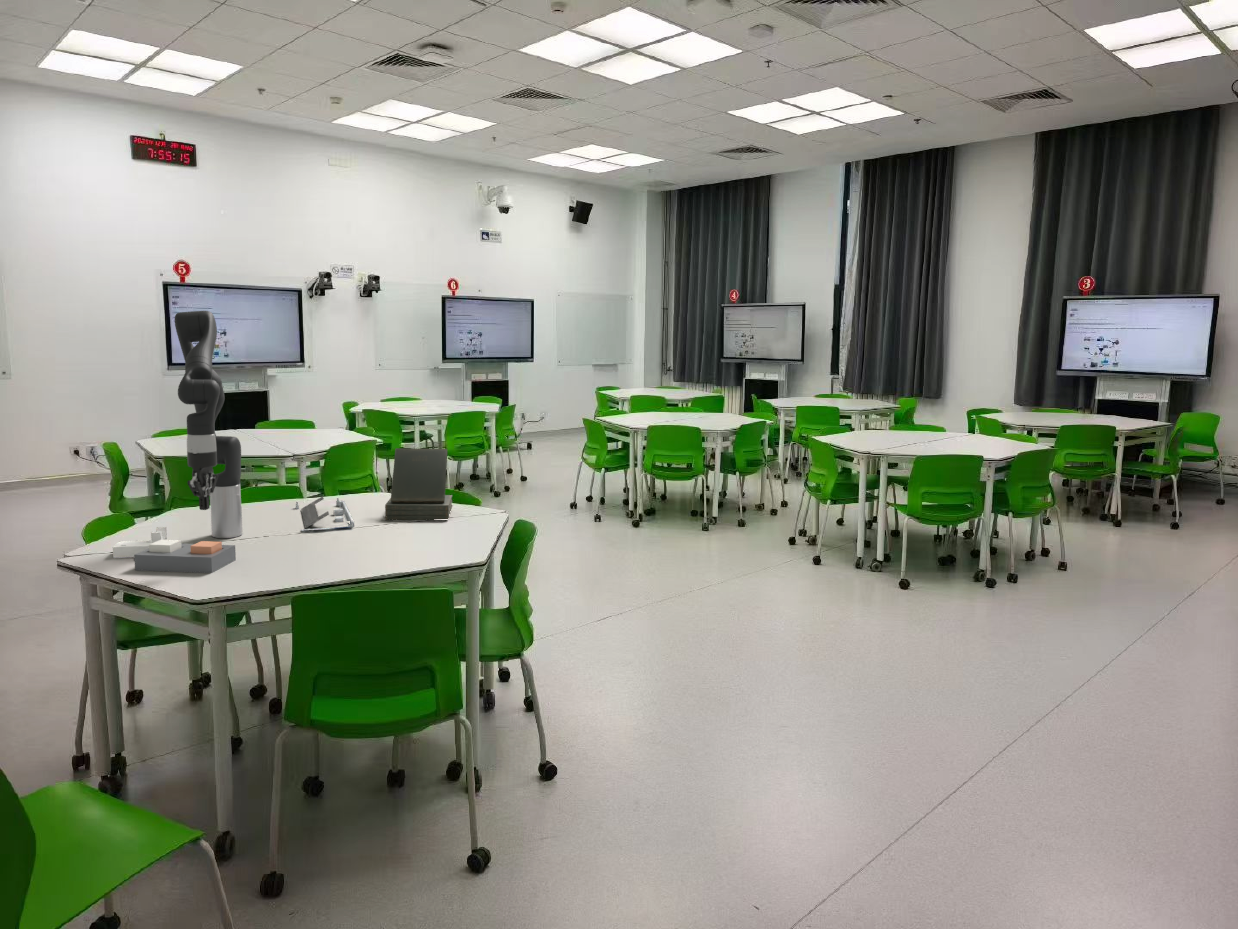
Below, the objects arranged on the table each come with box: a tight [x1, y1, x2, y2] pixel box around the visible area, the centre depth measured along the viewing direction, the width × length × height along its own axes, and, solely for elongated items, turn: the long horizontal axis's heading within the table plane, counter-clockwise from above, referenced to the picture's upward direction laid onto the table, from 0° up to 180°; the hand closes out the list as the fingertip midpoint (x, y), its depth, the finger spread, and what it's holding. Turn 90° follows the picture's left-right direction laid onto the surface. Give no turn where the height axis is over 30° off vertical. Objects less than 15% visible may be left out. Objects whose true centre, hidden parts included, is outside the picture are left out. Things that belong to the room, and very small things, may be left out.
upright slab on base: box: [384, 447, 453, 522], centre depth 316 cm, size 23×20×25 cm
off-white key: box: [149, 539, 182, 553], centre depth 241 cm, size 6×6×4 cm
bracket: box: [112, 526, 168, 559], centre depth 252 cm, size 13×7×8 cm, turn 106°
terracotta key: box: [190, 540, 223, 554], centre depth 241 cm, size 6×6×4 cm
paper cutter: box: [295, 496, 355, 531], centre depth 307 cm, size 18×45×6 cm, turn 23°
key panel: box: [133, 542, 237, 574], centre depth 242 cm, size 14×22×4 cm, turn 89°
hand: (204, 509), depth 239 cm, fingers closed
